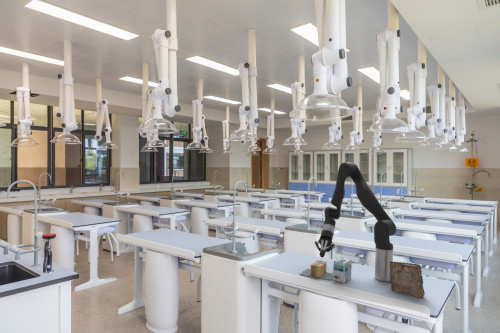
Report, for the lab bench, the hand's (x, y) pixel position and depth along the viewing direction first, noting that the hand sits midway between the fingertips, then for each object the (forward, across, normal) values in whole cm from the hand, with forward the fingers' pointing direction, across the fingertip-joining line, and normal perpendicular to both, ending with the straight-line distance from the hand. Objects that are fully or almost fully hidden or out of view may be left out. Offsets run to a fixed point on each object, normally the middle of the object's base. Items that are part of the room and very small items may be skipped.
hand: (321, 256), depth 195 cm
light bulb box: (+12, +14, +1) cm, 19 cm away
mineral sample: (+15, +46, -2) cm, 48 cm away
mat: (+11, 0, +1) cm, 11 cm away
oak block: (+4, 0, +4) cm, 6 cm away
